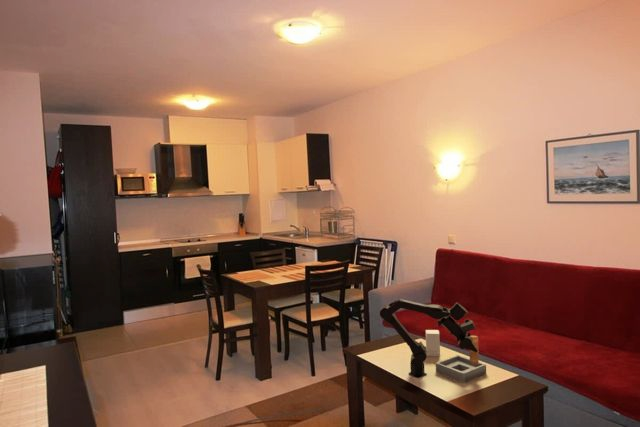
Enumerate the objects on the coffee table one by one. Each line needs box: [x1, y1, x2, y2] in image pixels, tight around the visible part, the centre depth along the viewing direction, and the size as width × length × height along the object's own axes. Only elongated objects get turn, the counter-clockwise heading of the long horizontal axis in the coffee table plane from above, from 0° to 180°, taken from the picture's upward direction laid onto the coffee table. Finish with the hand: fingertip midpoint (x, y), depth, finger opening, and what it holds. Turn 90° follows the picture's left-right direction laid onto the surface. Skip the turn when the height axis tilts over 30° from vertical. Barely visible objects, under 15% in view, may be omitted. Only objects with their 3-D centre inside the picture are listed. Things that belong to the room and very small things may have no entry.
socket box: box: [435, 354, 487, 384], centre depth 216 cm, size 17×17×4 cm
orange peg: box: [469, 335, 479, 365], centre depth 209 cm, size 4×4×13 cm
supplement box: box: [425, 329, 441, 357], centre depth 243 cm, size 7×7×13 cm
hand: (476, 350), depth 209 cm, fingers closed on orange peg, 4 cm apart
